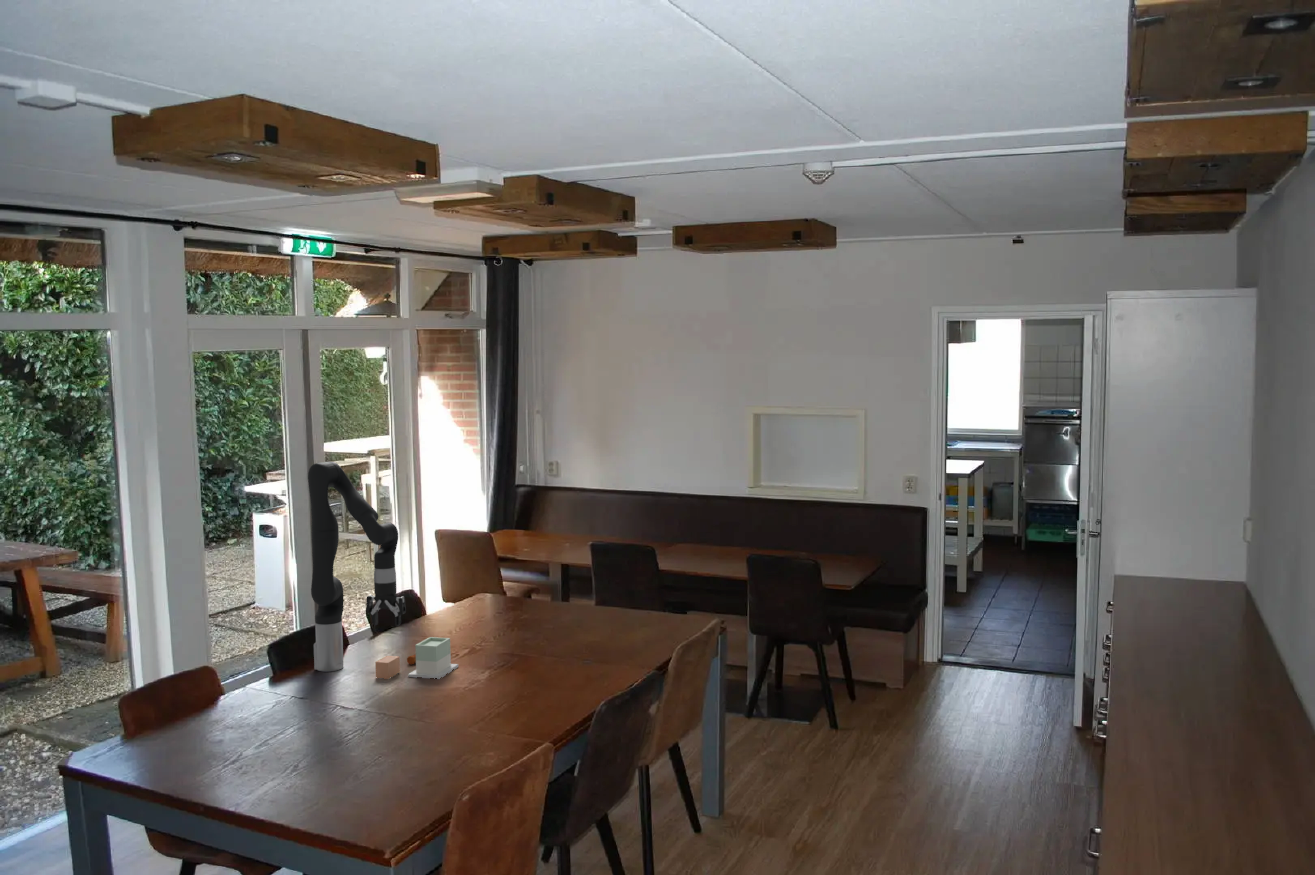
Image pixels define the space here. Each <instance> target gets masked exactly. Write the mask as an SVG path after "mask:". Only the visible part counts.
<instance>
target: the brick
mask: <svg viewBox="0 0 1315 875" xmlns="http://www.w3.org/2000/svg"><path fill="white" fill-rule="evenodd" d="M400 659H401V658H400V656H396V655H385V656H384V657H382V658H380V659H379V660H376V661H375V662H374V663H375V678H376V677H377V678H376V679H378V678H384V679H383V680H390V679H391V678H390V677H392V678H393V676H394V675H395V676H397V675H398V674H397V673H399V674H401V664H400V663H401V662H400V661H401V660H400ZM396 674H397V675H396ZM395 676H394V677H395ZM389 678H390V679H389Z"/></svg>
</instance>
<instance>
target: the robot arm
mask: <svg viewBox="0 0 1315 875" xmlns="http://www.w3.org/2000/svg"><path fill="white" fill-rule="evenodd" d="M307 472H308V473H307V483H308V489H309V490H308V491H309V499H310V513H311V514H310V515H311V516H310V517H311V548H312V551H311V552H312V554H311V556H312V575H311V577H312V578H311V585H310V586H311V587H310V594H311V598H312V600H313V602H314V603H315V604H316V605H317V611H316V613H315V616H314V623H315V624H314V625H315V642H314V643H313V657H314V658H313V659H314V660H313V661H314V662H313V664H314V665H313V666H314V670H317V671H319V672H327V673H328V672H335V671H339V670H341V669H344V649H343V648H344V642H343V639H344V638H343V614H344V613H343V612H344V586H343V583H342V582H341V580H340V579H339V578H338V577H336V576H334V563H335V560H336V555H337V552H338V546H339V540H340V539H339V538H340V535H339V532H340V531H339V522H338V519H337V517H336V515H335V513H334V511H333V510H332V508H331V506H330V502H329V488H333V489H335V491H337V492H338V493H339V494H340V495H341V496H342V498H343V500H344V503H345V507H346V509H347V510H348V513H349V514H350V515H351V516H352V518H353V519H354V520H355V521H356V522H357V523H358V524H359V525H361V528H362V530H363V531H364V534H366V535H365V536H366V537H367V539H368V540H369V542H370V543H372V544H374V545H376V546H380V547H379V549H378V550H377V551H376V552H375V553H374V556H373V560H374V562H373V563H374V564H373V565H374V566H373V567H374V570H373V572H374V573H373V580H374V582H373V586H374V588H373V589H374V590H373V591H374V595H373V594H370V595H368V596H366V602H365V603H366V605H365V606H366V610H365V611H366V613H367V614H371V623H372V624H373V626H377V625H379V613H378V612H379V610H384V609H385V610H390V612H392V613H393V614H394V627H399V626H400V625H401V624H402V615H405V614H407V613H406V612H407V607H406V597H405V596H404V595H403V596H401V597H399V596H397V571H396V558H395V557H396V556H395V555H396V552H397V547H398V542H399V532H398V528H397V526H396V525H395V524H394V523H391V522H385V523H379V522H378V520H379V513H378V512H377V511H376V510H375V508H373V507H372V506H371V505H370V504H369V502H367V501H366V499H364V497H363V495H361V493H359V491H358V490H357V489H356V487H355V485H354V484H353V483H352V481H351V480H350V478H349V476H348V475H347V474H346V472H345V470H344V469H343V468H342V467H341V466H340V465H339V464H338V463H337V462H334V461H323V462H316V463H313V464H312V465H311V466H310V467H309V469H308V471H307ZM374 602H375V605H374Z"/></svg>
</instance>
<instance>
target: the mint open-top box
mask: <svg viewBox="0 0 1315 875" xmlns="http://www.w3.org/2000/svg"><path fill="white" fill-rule="evenodd" d="M414 647H415V654H416V663H415V669H414V670H413V671H411V672H409V673H408V678H417V677H422V678H421V679H430V678H434V679H435V678H437V679H435V680H441V679H442V678H443V677H445V676H446V674H447V673H448V674H449V673H451V672H453V671H454V670H456V669H457V668H459V663H451V662H452V659H451V658H452V657H451V656H452V655H451V638H450V637H437V636H434V637H433V636H429V637H428V638H425V639H423V640H422V641H420V642H418V643H416V644H415V646H414ZM453 669H454V670H453ZM452 670H453V671H452ZM448 674H447V675H448ZM441 677H442V678H441ZM440 678H441V679H440ZM434 679H433V680H434Z"/></svg>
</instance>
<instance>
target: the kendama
mask: <svg viewBox="0 0 1315 875" xmlns="http://www.w3.org/2000/svg"><path fill="white" fill-rule="evenodd" d="M406 661H407V663H408V665H412V664H413V665H414V664H416V653H415V654H412V655H410V656H407V657H406Z"/></svg>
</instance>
